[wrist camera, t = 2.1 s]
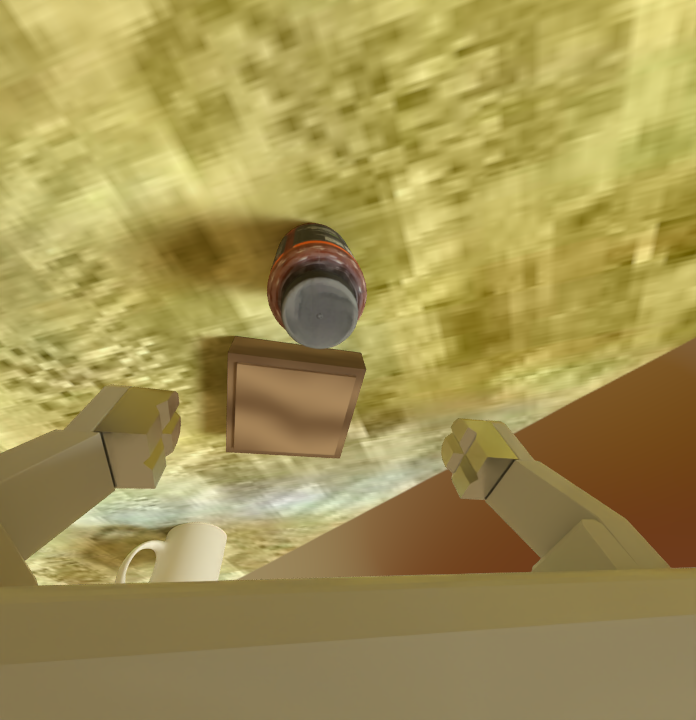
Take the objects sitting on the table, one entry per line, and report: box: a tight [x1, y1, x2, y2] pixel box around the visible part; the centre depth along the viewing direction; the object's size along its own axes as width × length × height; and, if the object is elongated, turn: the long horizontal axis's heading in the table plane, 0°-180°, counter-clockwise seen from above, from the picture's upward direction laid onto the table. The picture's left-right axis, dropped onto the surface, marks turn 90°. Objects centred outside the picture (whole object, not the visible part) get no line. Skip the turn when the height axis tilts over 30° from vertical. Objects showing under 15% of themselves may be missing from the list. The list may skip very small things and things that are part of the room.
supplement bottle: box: [267, 223, 367, 349], centre depth 20 cm, size 6×6×11 cm
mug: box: [115, 522, 227, 583], centre depth 38 cm, size 12×8×10 cm
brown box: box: [226, 336, 366, 458], centre depth 30 cm, size 12×12×3 cm
